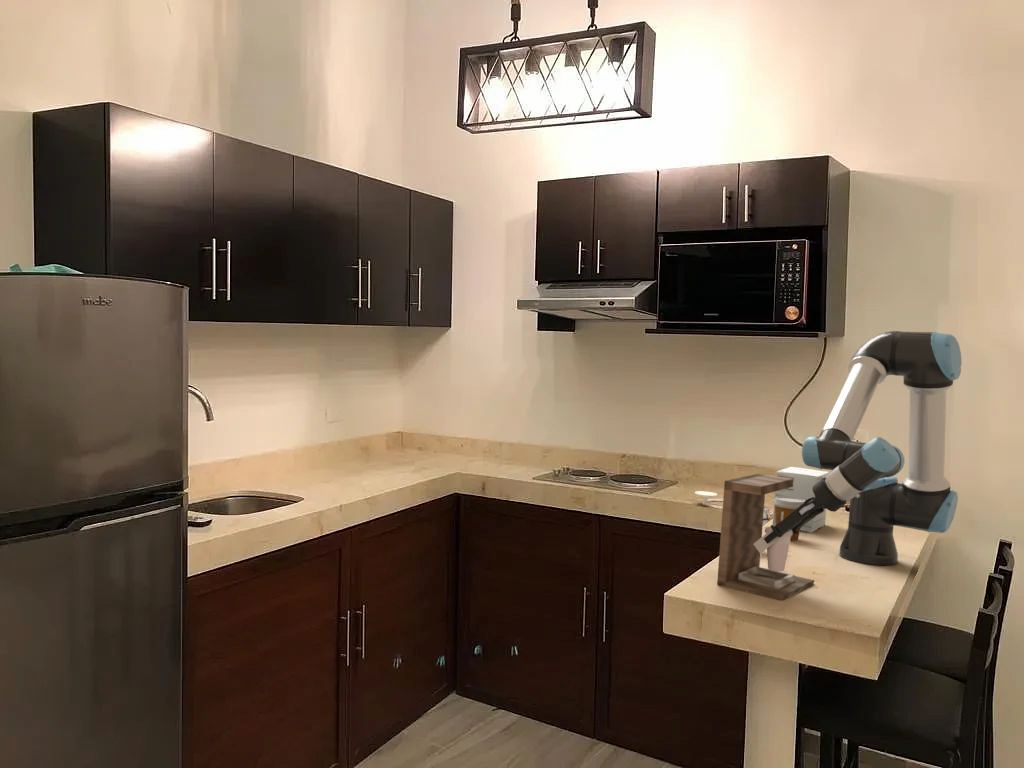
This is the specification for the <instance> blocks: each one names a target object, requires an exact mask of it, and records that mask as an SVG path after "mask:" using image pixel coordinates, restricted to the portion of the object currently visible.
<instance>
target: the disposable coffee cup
mask: <svg viewBox="0 0 1024 768" xmlns="http://www.w3.org/2000/svg"><path fill="white" fill-rule="evenodd" d="M774 500H775V501H773V505H775V517H776V525H777V524H778V523H779V522H781V511H783V512H784V515H783V519H784V518H786V517H787V516H788V515H790V514H791V513H792V512H794V511H795V510H796V509H797V508H798V507H800V505H801V504H804V502H805V500H803V499H799V498H793V497H776V498H775V497H774ZM797 531H798V533H797V534H794V533H793V532H792V534H793V535H792V536H791V539H790V542H795V540H796V541H798V540H799V537H800V532H801V531H800V529H797Z"/></svg>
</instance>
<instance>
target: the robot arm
mask: <svg viewBox="0 0 1024 768" xmlns="http://www.w3.org/2000/svg"><path fill="white" fill-rule="evenodd" d="M848 363H849V364H848V365H847V369H848V374H847V377H846V379H845V382H844V384H843V385H842V387H841V390H840V392H839V394H838V396H837V398H836V400H835V402H834V403H833V407H832V408H831V411H830V413H829V415H828V417H827V420H826V421H825V423H824V425H823V428H822V429H821V431H820V433H819V435H818V436H817V435H815V436H813V435H811V436H808V437H807V438H805V439H804V441H803V444H802V448H801V458H802V462H803V463H804V465H806V466H807V467H810V468H815V469H818V470H829V472H830V473H828V474H827V475H826V478H822V479H821V480H820V481H819V482H817V483H816V484H815V485H814V486H813V488H812V490H813V493H814V495H815V498H814V497H812V498H811V499H810V498H809V499H807V500H806V501H805V502H804V504H801V505H800V507H798V508H797V509H796V510H795V511H794V512H792V513H791V514H790V515H788V516H787V517H786V518H784V519H783V520H782V521H781V522H779V523H778V524H777V525H775V526H773V524H772V525H770V526H769V527H771V528H772V530H770V531H769V532H768V533H765V534H763V535H762V537H761V538H760V539H759V540H757V541H756V542H755V543H754V544H753V545H754V546H755V547H756V549H757V550H758V551H759V553H760V554H762V553H763V552H765V551H767V548H768V547H770V546H771V545H772V544H774V543H775V542H776V541H777V540H779V539H780V538H781V537H782V535H784V534H785V533H787V532H788V531H789V530H792V531H793V533H794V534H797V533H798V531H797V529H800V528H801V527H802V526H803V525H805V524H806V523H807V522H808V521H810V520H811V519H813V518H815V517H816V516H817V515H819V514H821V513H822V512H823V511H825V510H824V509H825V508H826V510H827V511H830V512H832V513H833V512H837V511H838V510H840V509H841V508H842V507H844V506H845V505H847V502H849V511H848V513H849V514H848V525H847V529H846V532H845V534H844V537H843V539H842V541H841V543H840V546H839V551H838V552H839V553H838V554H839V556H840V557H842V558H844V559H845V560H848V561H849V560H850V561H853V562H857V563H861V564H866V565H867V564H868V565H875V566H876V565H878V566H893V565H896V564H898V560H899V553H898V549H897V545H896V542H895V539H894V538H895V537H894V526H895V527H900V528H901V527H902V528H907V529H912V530H916V531H922V532H926V533H939V534H945V533H946V532H947V531H949V529H950V528H951V525H952V523H953V521H954V518H955V515H956V511H957V506H958V499H959V498H958V496H959V495H958V492H957V491H954V490H953V489H952V490H951V482H950V480H949V479H947V478H946V477H945V457H946V456H945V450H946V448H945V447H946V415H947V413H946V411H947V391H948V390H949V389H950V388H951V387H952V386H953V385H954V381H956V380H958V379H959V378H960V376H961V374H962V373H961V372H962V364H963V363H962V353H961V347H960V343H959V342H958V339H957V338H956V337H955V336H954V335H952V334H950V333H943V332H941V333H940V332H937V331H935V332H933V331H899V330H890V331H885V332H883V333H879V334H877V335H876V336H874V337H871V338H870V339H869V340H868V341H866V342H865V343H863V344H862V345H861V346H860V347H859V348H858V349H857V350H856V351H855V353H854V354H853V356H852V357H851V358H850V361H849V362H848ZM887 376H899V377H903V386H905V387H906V388H907V389H908V390H909V411H908V412H909V419H908V420H909V421H908V423H909V425H908V429H909V431H908V438H909V439H908V474H907V476H905V477H904V478H903V479H902V482H901V483H900V482H899V481H898V478H897V477H896V476H895V475H897V474H899V472H901V471H902V470H903V468H904V466H905V455H904V454H903V452H902V451H901V449H900V448H899V447H897V446H896V445H893V444H891V443H890V442H889V441H888V440H886V439H884V438H883V437H881V436H876V437H874V438H873V439H871V440H870V441H869V442H862V441H861V442H860V441H853V440H854V439H855V436H856V434H857V431H858V429H859V427H860V424H861V423H862V421H863V418H864V416H865V414H866V412H867V409H868V407H869V405H870V403H871V401H872V399H873V396H874V394H875V392H876V390H877V387H878V385H879V384H881V383H883V382H884V381H885V380H886V378H887ZM898 482H899V483H898Z"/></svg>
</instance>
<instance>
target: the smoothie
mask: <svg viewBox="0 0 1024 768" xmlns="http://www.w3.org/2000/svg"><path fill="white" fill-rule="evenodd" d="M783 515H784V512H783V511H781V521H782V520H783ZM770 530H772V528H771V527H770V526H766V527H765V528H764V533H765V534H766V533H768V532H769V531H770ZM792 532H793V531H792V530H789V531H788V532H787V533H785V534H784V535H782V537H781V538H780V539H779V540H777V541H776V542H775V543H774V544H772V545H771V546H770V547H768V548H767V549H766V552H767V553H766V554H767V556H766V557H767V569H769V570H773V571H779V572H785V568H786V564H787V563H786V562H787V559H788V554H789V553H788V552H789V550H790V549H789V547H790V545H791V544H790V543H791V541H790V539H791V536H792V535H793V534H792Z"/></svg>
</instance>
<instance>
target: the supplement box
mask: <svg viewBox="0 0 1024 768" xmlns="http://www.w3.org/2000/svg"><path fill="white" fill-rule="evenodd" d="M830 472H831V471H825V470H820V469H810V468H803V467H796V466H789V467H785V468H782V469H780V470H777V471H776V475H775V476H778V477H785V478H791V479H793V487H790V488H786V489H782V490H779V491H775V492H774V501H775V498H776V497H793V498H799V499H803V500H805V501H806V500H807V499H809V498H810V499H811V498H812V497H814V498H815V495H814V493H813V490H812V488H813V486H814V485H815V484H816V483H817V482H819V481H820V480H821V479H822V478H826V475H827V474H828V473H830ZM774 501H773V502H774ZM773 505H774V504H773ZM824 510H825V511H823V512H822V513H821V514H819V515H817V516H816V517H815V518H813V519H811V520H810V521H808V522H807V523H806V524H805V525H803V526H802V527H801V528H800V530H801V531H800V532H806V531H807V533H811V532H812V533H813V532H815V531H816V530H819V529H820V527H821V528H823V527H824V526H826V521H827V519H826V518H827V509H826V508H825V509H824ZM772 525H773V526H775V525H776V517H775V505H774V506H773V515H772ZM818 528H819V529H818Z"/></svg>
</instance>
